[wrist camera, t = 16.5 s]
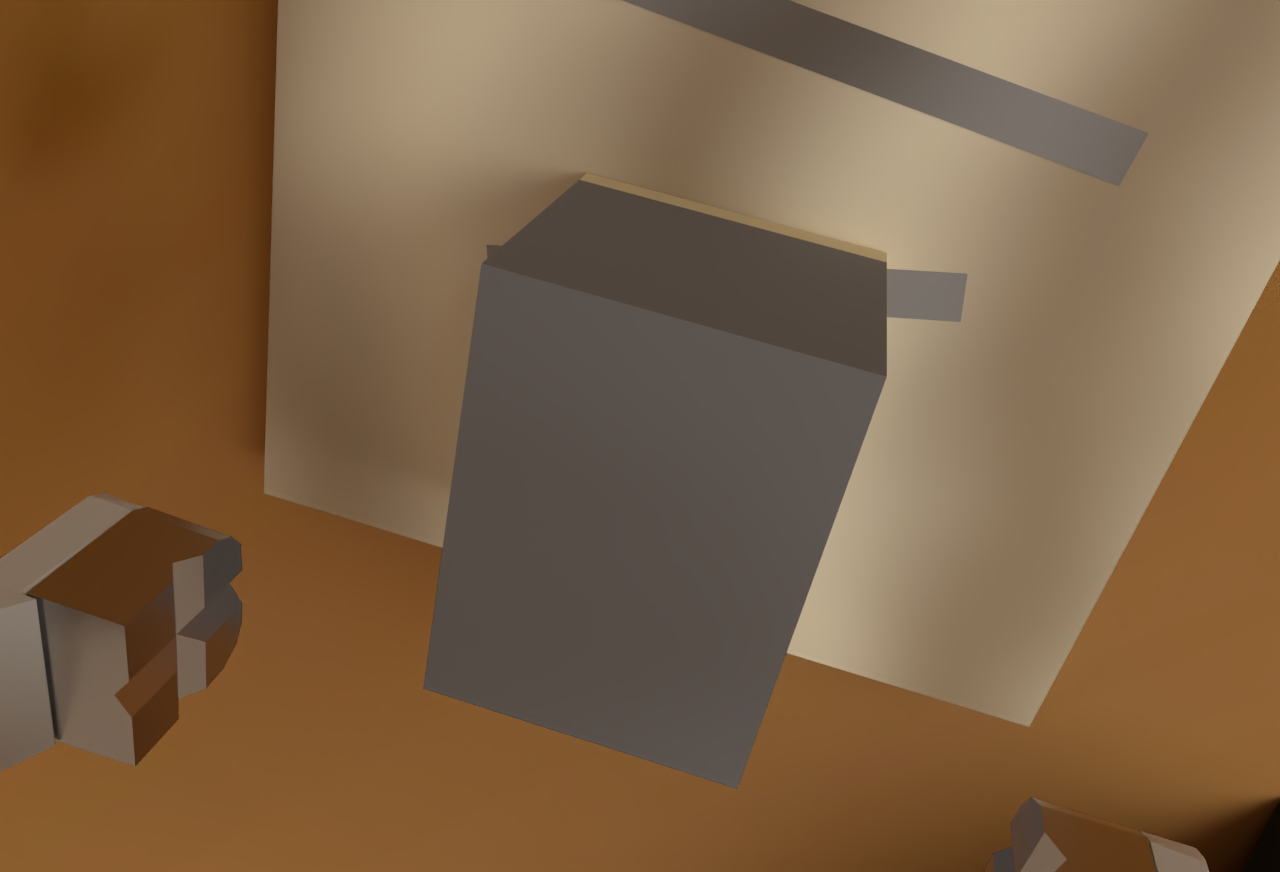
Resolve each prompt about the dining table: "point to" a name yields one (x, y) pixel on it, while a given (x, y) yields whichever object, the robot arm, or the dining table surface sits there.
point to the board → (824, 205)
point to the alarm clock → (1266, 848)
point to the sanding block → (651, 468)
